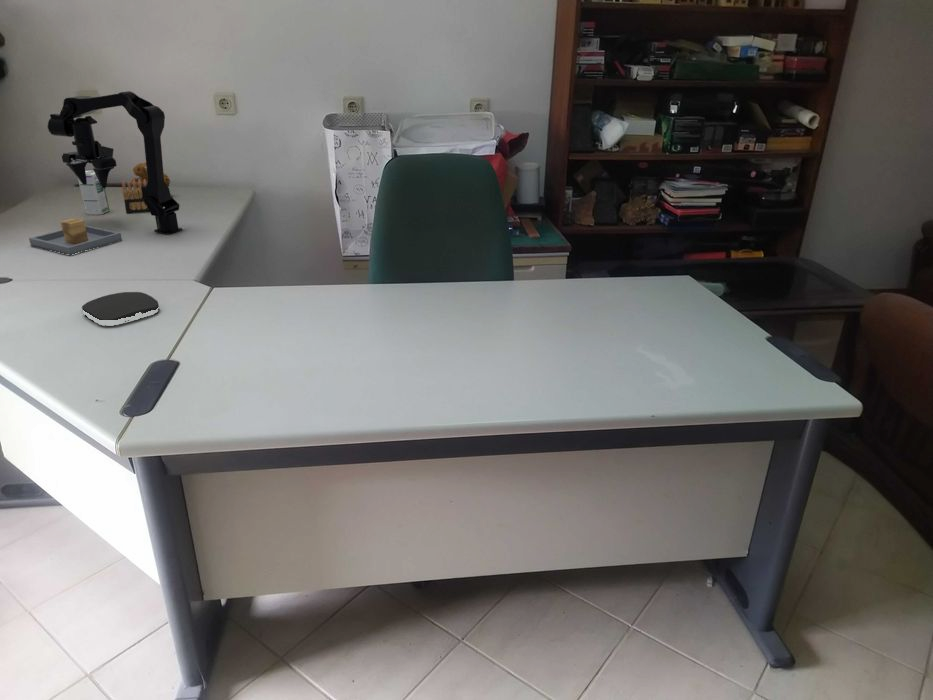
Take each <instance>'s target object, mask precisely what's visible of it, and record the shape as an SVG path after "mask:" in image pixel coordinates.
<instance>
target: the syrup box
mask: <svg viewBox="0 0 933 700" xmlns="http://www.w3.org/2000/svg"><path fill="white" fill-rule="evenodd" d="M85 172H86V179H87V184H86V185H83V184H82V182H81V181H80V180H79V178H78V177H77V181H78V185H79V189H80V193H81V197H82V201H83V205H84V208H85V213H86V215H96V216H97V215H98V216H99V215H102V216H103V214H106V213H108V212H110V210H111V209H110V205H109V201H108V197H107V192H106V188H102V186H101V185H100V183H99V181H98V178H97V176H96V174H95V172H94V170H85Z"/></svg>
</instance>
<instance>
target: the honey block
mask: <svg viewBox="0 0 933 700" xmlns="http://www.w3.org/2000/svg"><path fill="white" fill-rule="evenodd" d="M60 224H61V228H62V229H63V233H64V237H65V241H66V242H68V243H72V244H79V243H82V242H86V241H88V236H87V232H86V228H85V225H86V223H85V220H84V219H79V218H71V219H67V220H61V221H60ZM62 229H61V230H62Z"/></svg>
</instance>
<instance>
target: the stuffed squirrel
mask: <svg viewBox="0 0 933 700" xmlns="http://www.w3.org/2000/svg"><path fill="white" fill-rule="evenodd" d="M132 171H133V175H134V176H135V177H134V178H132V179H131V183H132V184H131V187H133V179H134V180H135V182H136V185H137V189H138V192H139V187H138V179H140V181H141V184H142V186H144V179H145V180H146V182H148V178H147V167H146V162H140V163H138V164H137V163H136V165H135V166H133V167H132ZM163 173H164V172H163ZM164 181H165V183H166V185H167V186H168V188H170V185H171V180H170V176H168V175H167V174H166V173H164ZM139 197H140V196H139Z"/></svg>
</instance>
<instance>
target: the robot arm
mask: <svg viewBox="0 0 933 700" xmlns="http://www.w3.org/2000/svg"><path fill="white" fill-rule="evenodd" d="M62 103H63V104H62V105H63V106H62V108H61V110H60V112H59V113H50V115H49V116H50V118H49V119H48V122H47V130H48V132H49V134H51V135H52V136H53V137H54V136H55V137H68V138H72V137H73V138H74V139H73V141H71V144H72V146H75V148H76V151H72V152H71V151H70V152H63V153H62V155H61V158H62V162H63V163H65V165H66V166H67V167H69V169H70V170H71V171H72V173H73V174H75V176H76V178H77V179H78V178H79V180H80V181H81V182H82V184H83V185H86V184H87V179H86V172H85V171H86V166H87V164H92V166H93V168H92V171H94V172H95V174H96V176H97V178H98V181H99V183H100V185H101V186H102V188H105V189H106V188H107V186H108V185H107V184H108V178H109V174H110V172H111V170H113V169H114V168H115V167H117V160H116V159H115V158H114V148H113V147H108V146H104V145H102V144H101V143H100V142H99V141H98V140H95V136H94V131H93V125H94V124H98V121H97V120H96V119H94V118H93V117H92V116H91V115H90V114H93V113H95V112H97V111H99V110H104V109H108V108H115V107H123V108H124V109H125V110H126V111H127V114H128V115H129V116H131V117H132V118H134V120H135V122H136V125H137V129H138V130H139V132H140V133H141V134H142V136H143V145H144V155H145V163H146V167H147V178H148V182H147V185H145V186H142V187H141V190H142V199H144V203H145V205H146V206H147V207H148V209H149V211H150V212H149V214H151V216H152V217H153V216H154V218H155V224H156V229H154V230H153V231H154V232H155V233H159V234H160V233H161V234H163V235H171V234H173V233H177V232H180V231H183V228H182V227H179V223H178V218H177V213H176V212H178V211H180V206H181V205H180V204H179V203H178V202H177V201H176V200H175V199H174V197H173V196H172V195H171V189H170V187H168V186H167V185H166V183H165V181H164V166H163V165H164V162H163V161H164V160H163V153H162V152H163V150H162V142H161V141H162V140H161V139H162V137H161V136H162V134H163V130H164V129H165V119H166V115H165V112H164V111H163V110H162V108H160V107H159V106H157V105H154V104H153V103H152V102H151V101H148V100H146V99H144V98H142V97H141V96H139V95H137V94H136V93H135V92H133V91H128V90H127V91H121V92H118V93H113V94H106V95H100V96H95V97H94V96H90V95H89V96H87V95H80V96H79V95H78V96H72V97H66V98H64V99H63V102H62ZM84 116H85V117H84Z"/></svg>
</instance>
